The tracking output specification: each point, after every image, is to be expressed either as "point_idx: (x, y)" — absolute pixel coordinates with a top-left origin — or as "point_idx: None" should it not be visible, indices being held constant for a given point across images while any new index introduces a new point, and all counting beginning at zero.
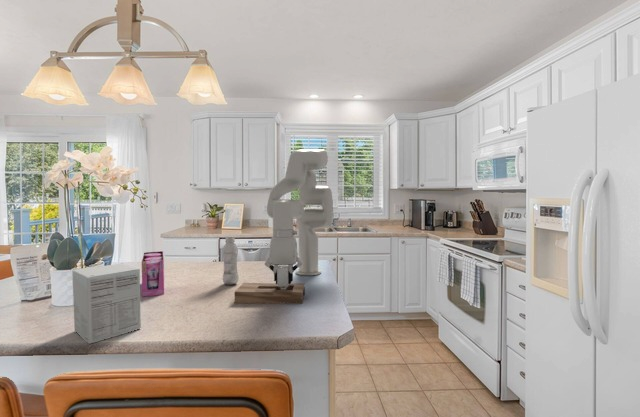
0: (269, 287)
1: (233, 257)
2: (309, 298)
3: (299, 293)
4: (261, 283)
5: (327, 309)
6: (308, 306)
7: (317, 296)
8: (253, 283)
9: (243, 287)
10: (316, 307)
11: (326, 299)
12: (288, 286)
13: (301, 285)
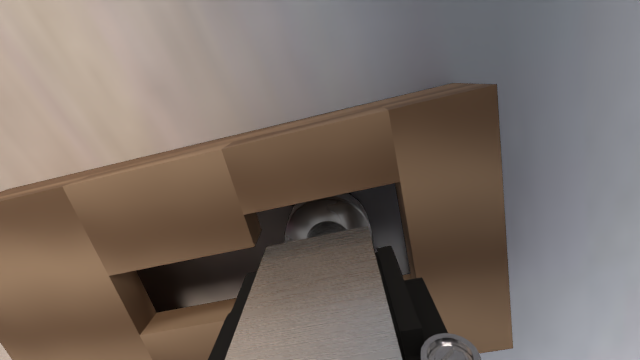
0: (197, 252)
1: None
2: (507, 187)
3: (488, 343)
4: (72, 196)
5: (631, 341)
6: (519, 322)
7: (564, 127)
8: (7, 214)
9: (26, 330)
10: (567, 327)
11: (635, 179)
12: (344, 190)
13: (473, 169)
